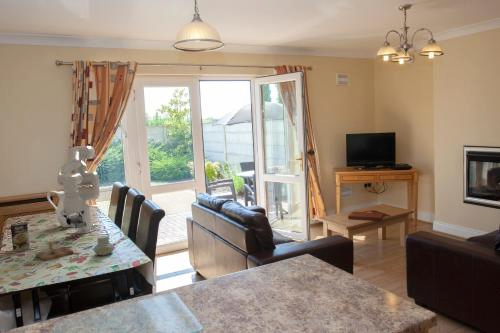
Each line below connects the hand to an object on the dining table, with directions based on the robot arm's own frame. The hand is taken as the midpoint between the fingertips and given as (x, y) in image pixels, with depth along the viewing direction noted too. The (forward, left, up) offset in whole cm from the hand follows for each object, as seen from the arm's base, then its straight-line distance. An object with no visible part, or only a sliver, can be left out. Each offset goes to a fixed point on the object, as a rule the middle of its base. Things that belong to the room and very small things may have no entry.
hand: (74, 222), depth 243 cm
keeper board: (+16, +10, -14) cm, 24 cm away
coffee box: (+26, -20, -14) cm, 36 cm away
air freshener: (-4, +33, -14) cm, 36 cm away
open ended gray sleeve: (0, +4, -1) cm, 4 cm away
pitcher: (-13, -59, -14) cm, 62 cm away
